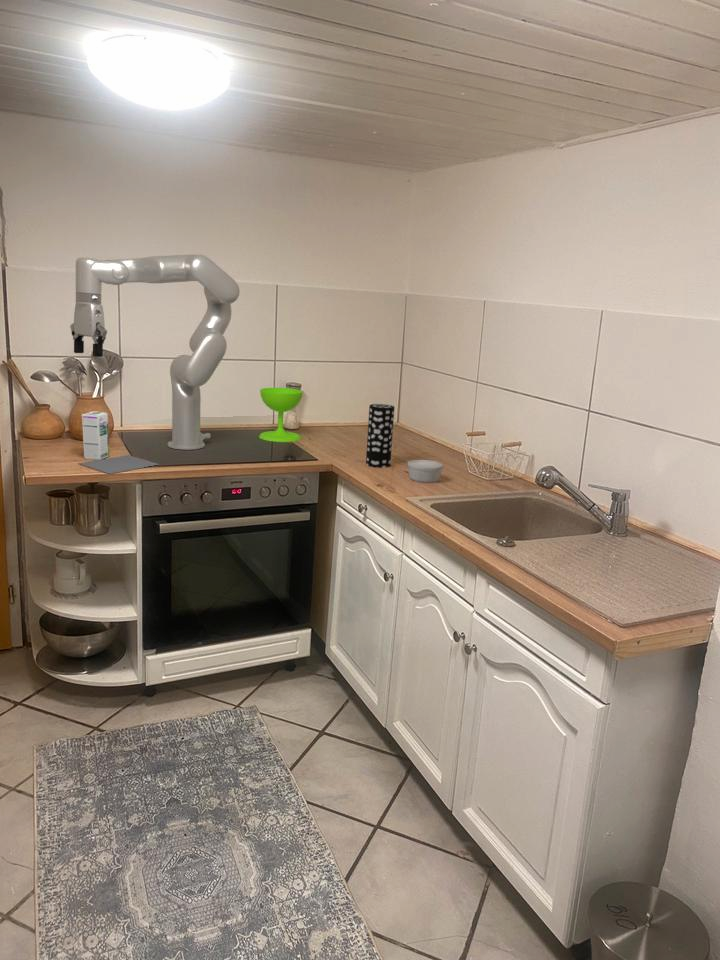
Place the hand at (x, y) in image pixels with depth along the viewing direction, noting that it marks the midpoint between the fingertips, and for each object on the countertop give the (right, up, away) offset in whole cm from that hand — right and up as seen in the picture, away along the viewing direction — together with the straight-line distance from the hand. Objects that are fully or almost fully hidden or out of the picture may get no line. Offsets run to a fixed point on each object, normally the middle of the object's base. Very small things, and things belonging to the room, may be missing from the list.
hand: (88, 354), depth 236 cm
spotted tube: (+92, -35, +16) cm, 100 cm away
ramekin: (+106, -40, +1) cm, 113 cm away
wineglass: (+55, -24, +50) cm, 78 cm away
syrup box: (+2, -33, +2) cm, 33 cm away
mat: (+11, -35, -5) cm, 37 cm away
